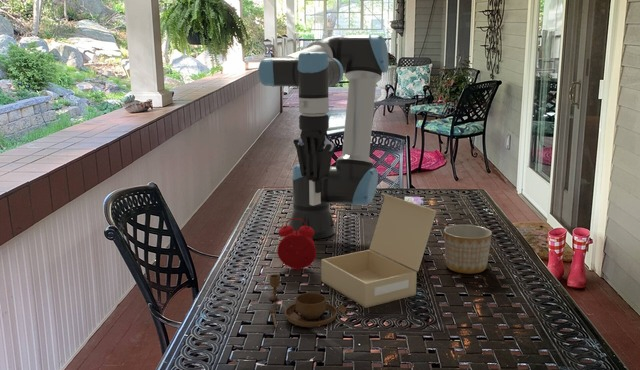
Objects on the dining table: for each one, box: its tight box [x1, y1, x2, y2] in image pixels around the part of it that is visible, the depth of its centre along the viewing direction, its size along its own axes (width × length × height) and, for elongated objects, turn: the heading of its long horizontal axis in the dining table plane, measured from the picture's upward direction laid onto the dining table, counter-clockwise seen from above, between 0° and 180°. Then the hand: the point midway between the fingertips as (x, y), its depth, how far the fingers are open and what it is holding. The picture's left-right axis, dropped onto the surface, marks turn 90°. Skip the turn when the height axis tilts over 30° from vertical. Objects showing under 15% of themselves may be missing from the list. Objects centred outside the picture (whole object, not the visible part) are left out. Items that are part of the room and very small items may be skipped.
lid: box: [368, 192, 437, 272], centre depth 164 cm, size 20×15×2 cm
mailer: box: [320, 249, 418, 309], centre depth 161 cm, size 20×15×6 cm
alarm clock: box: [277, 218, 317, 271], centre depth 173 cm, size 10×6×15 cm, turn 84°
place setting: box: [269, 273, 347, 328], centre depth 149 cm, size 18×20×6 cm
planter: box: [443, 224, 493, 275], centre depth 175 cm, size 13×13×10 cm
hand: (315, 204), depth 168 cm, fingers closed
